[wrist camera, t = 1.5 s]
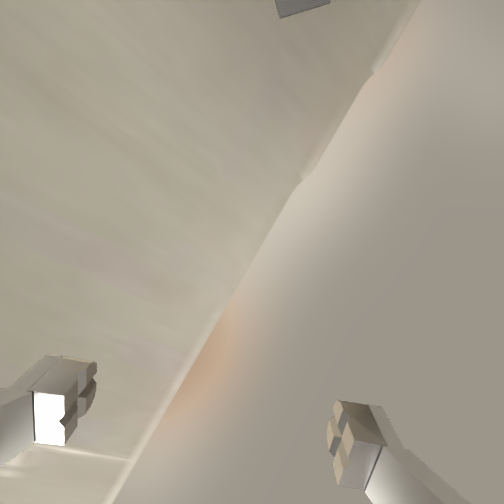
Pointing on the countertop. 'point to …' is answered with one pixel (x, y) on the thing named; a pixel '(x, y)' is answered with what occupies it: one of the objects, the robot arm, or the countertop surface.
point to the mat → (297, 6)
